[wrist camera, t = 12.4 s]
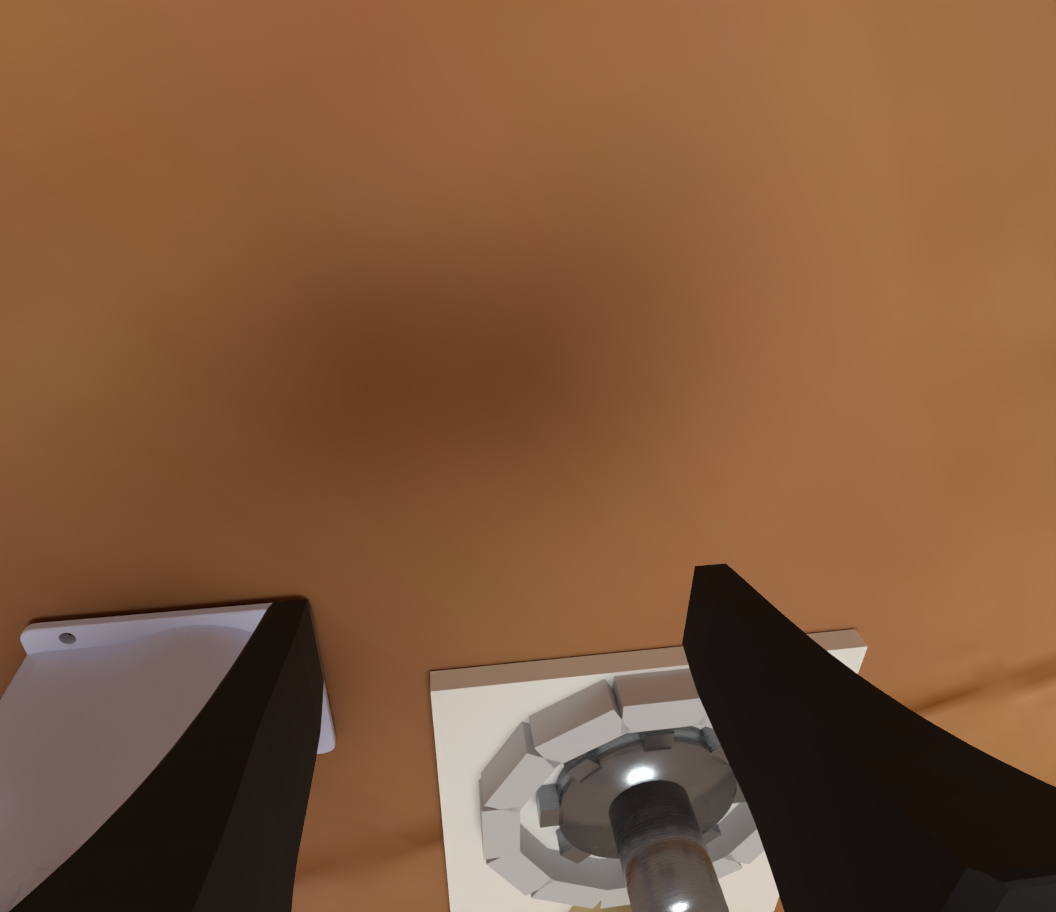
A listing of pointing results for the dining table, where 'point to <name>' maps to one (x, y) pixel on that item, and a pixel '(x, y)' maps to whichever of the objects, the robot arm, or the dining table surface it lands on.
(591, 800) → the gear
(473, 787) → the carrier plate
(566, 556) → the dining table surface
